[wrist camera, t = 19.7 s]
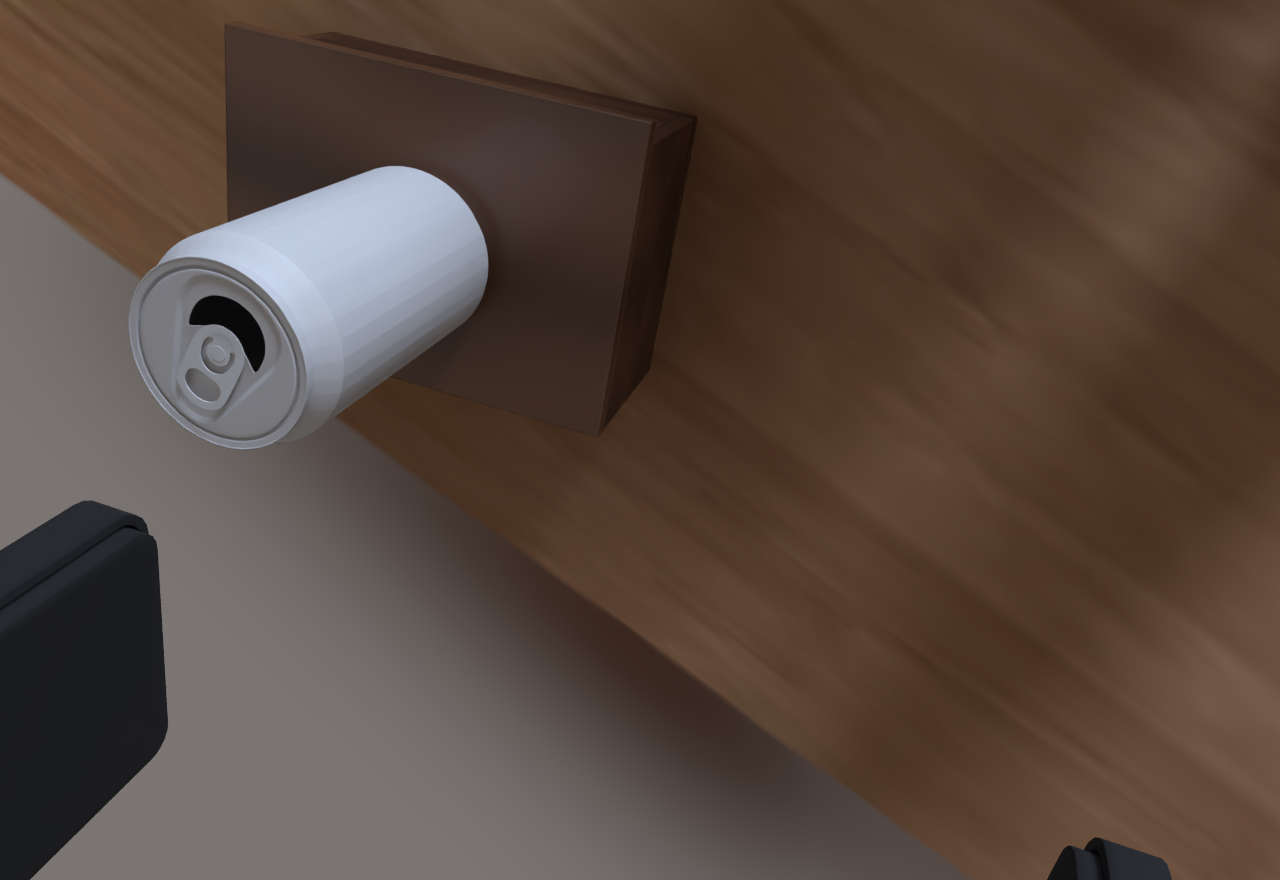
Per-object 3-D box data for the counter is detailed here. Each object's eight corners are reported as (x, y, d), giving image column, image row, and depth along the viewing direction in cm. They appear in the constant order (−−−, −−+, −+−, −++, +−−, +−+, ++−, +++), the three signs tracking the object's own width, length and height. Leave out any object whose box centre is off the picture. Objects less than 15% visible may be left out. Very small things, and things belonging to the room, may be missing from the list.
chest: (332, 31, 44) (236, 44, 38) (697, 116, 41) (653, 143, 35) (325, 280, 49) (240, 324, 43) (649, 370, 46) (603, 430, 41)
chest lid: (236, 21, 38) (224, 22, 37) (657, 120, 35) (651, 122, 34) (239, 324, 43) (228, 330, 43) (603, 431, 41) (597, 438, 40)
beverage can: (527, 232, 37) (353, 340, 27) (449, 362, 40) (267, 505, 30) (383, 125, 37) (152, 192, 27) (316, 264, 40) (87, 373, 30)
